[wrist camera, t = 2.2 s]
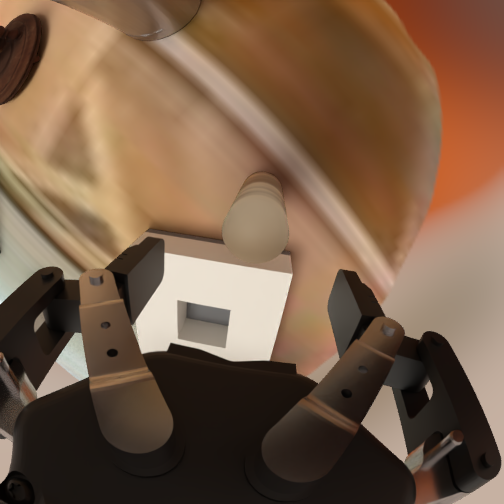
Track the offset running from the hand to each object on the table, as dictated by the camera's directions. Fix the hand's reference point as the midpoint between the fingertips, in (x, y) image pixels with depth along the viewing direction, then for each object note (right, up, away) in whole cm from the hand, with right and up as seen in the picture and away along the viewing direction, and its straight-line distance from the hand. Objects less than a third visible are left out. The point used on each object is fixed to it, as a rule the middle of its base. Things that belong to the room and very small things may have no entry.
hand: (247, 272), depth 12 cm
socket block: (-5, -5, +21) cm, 22 cm away
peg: (+1, +7, +15) cm, 17 cm away
